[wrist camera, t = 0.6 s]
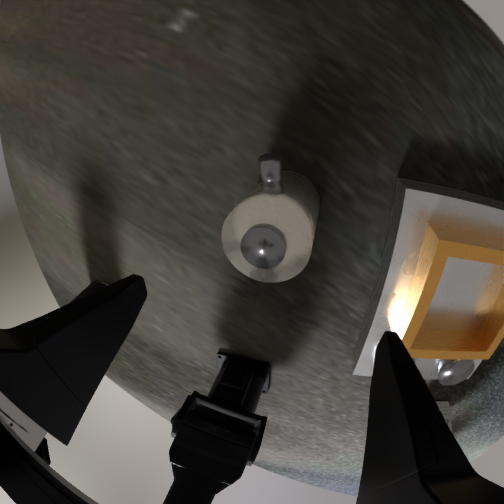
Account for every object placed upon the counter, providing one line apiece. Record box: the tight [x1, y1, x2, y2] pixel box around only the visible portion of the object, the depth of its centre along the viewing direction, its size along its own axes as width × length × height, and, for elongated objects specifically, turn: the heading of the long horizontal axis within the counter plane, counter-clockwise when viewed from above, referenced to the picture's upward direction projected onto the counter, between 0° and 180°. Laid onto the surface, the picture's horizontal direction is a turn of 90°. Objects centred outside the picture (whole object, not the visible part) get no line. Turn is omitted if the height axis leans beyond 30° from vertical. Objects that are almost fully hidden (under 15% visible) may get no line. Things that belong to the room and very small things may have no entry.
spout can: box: [222, 153, 320, 283], centre depth 17 cm, size 7×5×8 cm
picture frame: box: [353, 177, 504, 386], centre depth 19 cm, size 21×14×6 cm, turn 1°
